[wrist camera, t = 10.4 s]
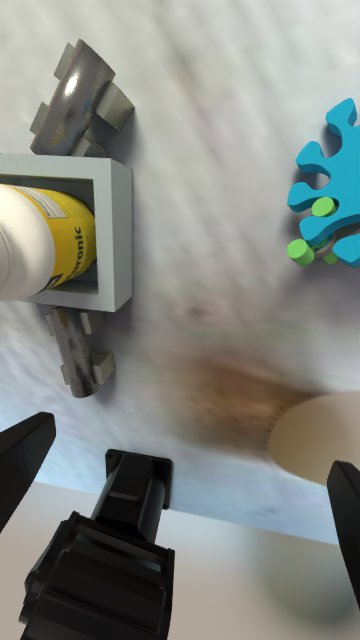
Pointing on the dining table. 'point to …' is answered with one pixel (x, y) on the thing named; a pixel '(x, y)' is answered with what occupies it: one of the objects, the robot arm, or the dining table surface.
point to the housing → (110, 220)
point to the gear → (330, 196)
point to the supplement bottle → (43, 240)
